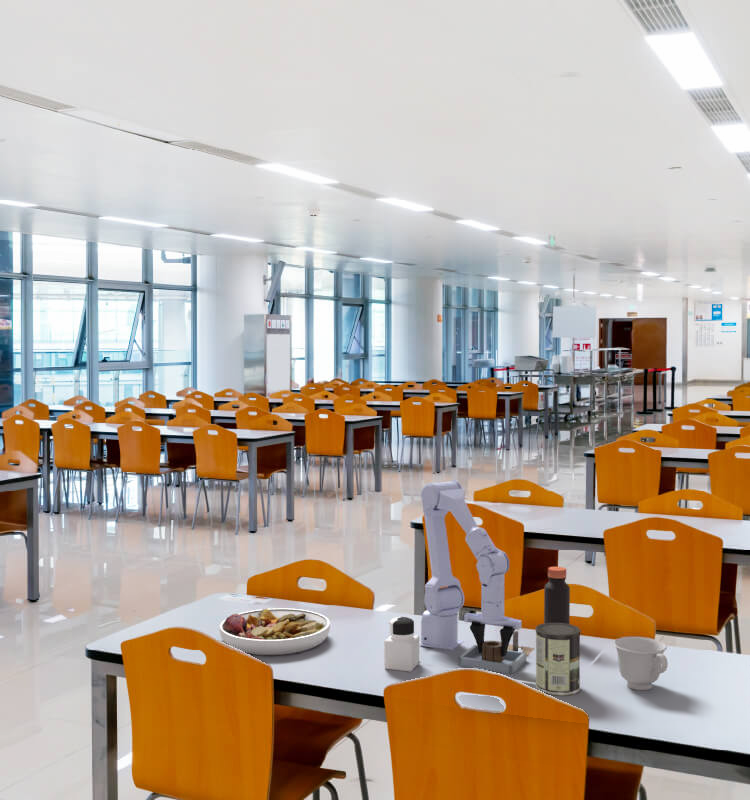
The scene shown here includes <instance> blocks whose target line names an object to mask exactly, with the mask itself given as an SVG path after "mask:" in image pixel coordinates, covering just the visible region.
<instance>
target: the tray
mask: <svg viewBox="0 0 750 800" xmlns="http://www.w3.org/2000/svg"><path fill="white" fill-rule="evenodd" d="M526 662H527V656H526V653H524V652H517V651H511V650H507V655H505V656H504V660H503V661H502V662H500V663H497V662H491V661H485V660H482V653H479V652H478V647H477V644H473V645H471V647H470V648H468V649H467V650H466V651H465V652H463V653H462V654H461V655H460V656H458V666H459V667H465V668H471V667H475V668H474V669H477V668H483V669H488V670H487V671H489V670H491V671H490V672H495V671H497V672H496V673H502V674H507V675H513V674H514V673H515V672H516V671H518V669H519V668H520V667H521V666H522V665H523V664H524V663H526ZM483 669H482V670H483Z"/></svg>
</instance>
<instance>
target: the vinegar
mask: <svg viewBox="0 0 750 800" xmlns="http://www.w3.org/2000/svg"><path fill="white" fill-rule="evenodd" d="M547 578H548V582H547V583H545V585H544V593H543V595H544V597H543V598H544V599H543V601H544V602H543V604H544V605H543V609H544V611H543V613H544V614H543V615H544V616H543V624H544V623H566V624H571V623H570V620H571V619H570V618H571V617H570V613H571V612H570V611H571V610H570V609H571V607H570V603H571V601H570V598H571V594H570V593H571V591H570V590H571V588H570V586H569V584H568V583H567V582H566V579H567V568H565V567H563V566H549V567H548V568H547Z"/></svg>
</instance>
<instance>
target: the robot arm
mask: <svg viewBox="0 0 750 800" xmlns="http://www.w3.org/2000/svg"><path fill="white" fill-rule="evenodd" d="M420 496H421V504H422V513H423V515H424V523H425V524H424V525H425V530H426V531H425V532H426V540H427V546H428V548H427V549H428V553H429V555H428V556H429V563H430V569H431V570H430V571H431V578H430V579H429V580H428V581H427V582H426V584H425V585H424V590H425V591H424V597H423V598H424V599H423V601H424V606H425V608H426V610H424V611H423V613H422V616H421V621H420V628H421V629H420V630H421V631H420V632H421V633H420V641H421V642H420V643H419V647H420V646H421V647H427V648H432V649H433V648H438V649H445V650H450V651H451V650H454V649H455V648H456V647H458V646H459V645H461V644H462V643H463V642H464V641H463V640H460V639H458V635H459V633H458V631H459V629H458V627H459V617H458V615H459V613H460V612H461V608H462V607H463V606H464V603H465V595H464V594H465V593H464V591H463V589H462V587H461V586H462V585H461V582H460V580H459V579H458V578H457V577H455V576H454V575H453V572H452V564H451V558H450V549H449V543H448V542H449V541H448V534H447V527H446V518H445V517H446V515H447V514H448V513H449V512H450V513H451V514H452V515H453V516H452V517H454V518H455V521H457V523H458V524H459V525H460V527H461V529H463V531H464V532H465V534H466V535H465V539H464V540H465V542H466V544H467V546H468V547H469V549H470V551H471V553H472V554H473V556H474V557H475V559H476V561H477V563H475V564H476V565H475V566H476V570H477V572H478V574H479V575H478V576H479V582H480V583H481V585H480V586H481V593H480V595H481V599H480V601H481V603H480V604H481V609H480V611H481V613H471V612H466V613H465V614H464V617H463V619H464V621H463V622H464V623H470V626H469V630H470V631H471V633H472V635H473V637H474V640H475V642H476V645H477V647H478V652H479V653H482V643H483V642H484V641H485V630H486V625H487V626H496V627H502V628H501V629H500V630H499V633H500V634H499V635H500V640H501V641H500V642H501V656H503V657H504V656H505V655H507V649H508V645H509V644H510V642H511V639H512V638H513V633H514V631H520V630H521V629H522V627H523V626H522V624H523V623H522V622H523V621H522V619H517V618H513V617H509V616H505V574H506V573H508V572H509V570H510V569H509V568H510V559H509V558H508V555H507V553H506V552H505V551H503V550H500V548H498V547H496V545H495V543H494V542H493V540H492V539H491V537H490V536H489V534H488V532H487V531H486V529H485V528H483V527H479V526H478V524H477V522H476V520H475V519H474V517H473V515H472V513H471V511H470V509H469V507H468V504H467V503H466V501H465V498H466V491H465V490H464V489H463V487H462V485H461V483H460V482H459V481H457V480H456V479H455V480H451V481H450V480H449V481H442V482H428V483H426V484H425V485H424V486H423V488H422V490H421V492H420Z"/></svg>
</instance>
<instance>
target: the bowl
mask: <svg viewBox="0 0 750 800" xmlns="http://www.w3.org/2000/svg"><path fill="white" fill-rule="evenodd" d="M330 630H331V621H330V619H329V618H328V617H326V616H325V615H323V614H321V613H318V612H315V611H311V610H306V609H299V608H298V609H297V608H283V607H282V608H264V609H255V610H249V611H244V612H240V613H234V614H233V613H232V614H231V615H229V616H228V617H227V618H225V619H224V620H222V622H221V623H220V624H219V633H220V638H221V639H222V641H223V642H224V643H225V644H226V643H227V644H229V645H231V646H233V647H235V648H237V649H240V650H242V651H245V652H247V653H246V654H249V653H250V655H257V656H258V655H259V656H282V655H291V654H298V653H301V652H306V651H308V650H311V649H313V648H315V647H318V646H319V645H320V644H321V643H323V642H324V641H325V640H326V639H327V637H328V635H329V633H330ZM227 644H226V645H227ZM297 652H298V653H297Z"/></svg>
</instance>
